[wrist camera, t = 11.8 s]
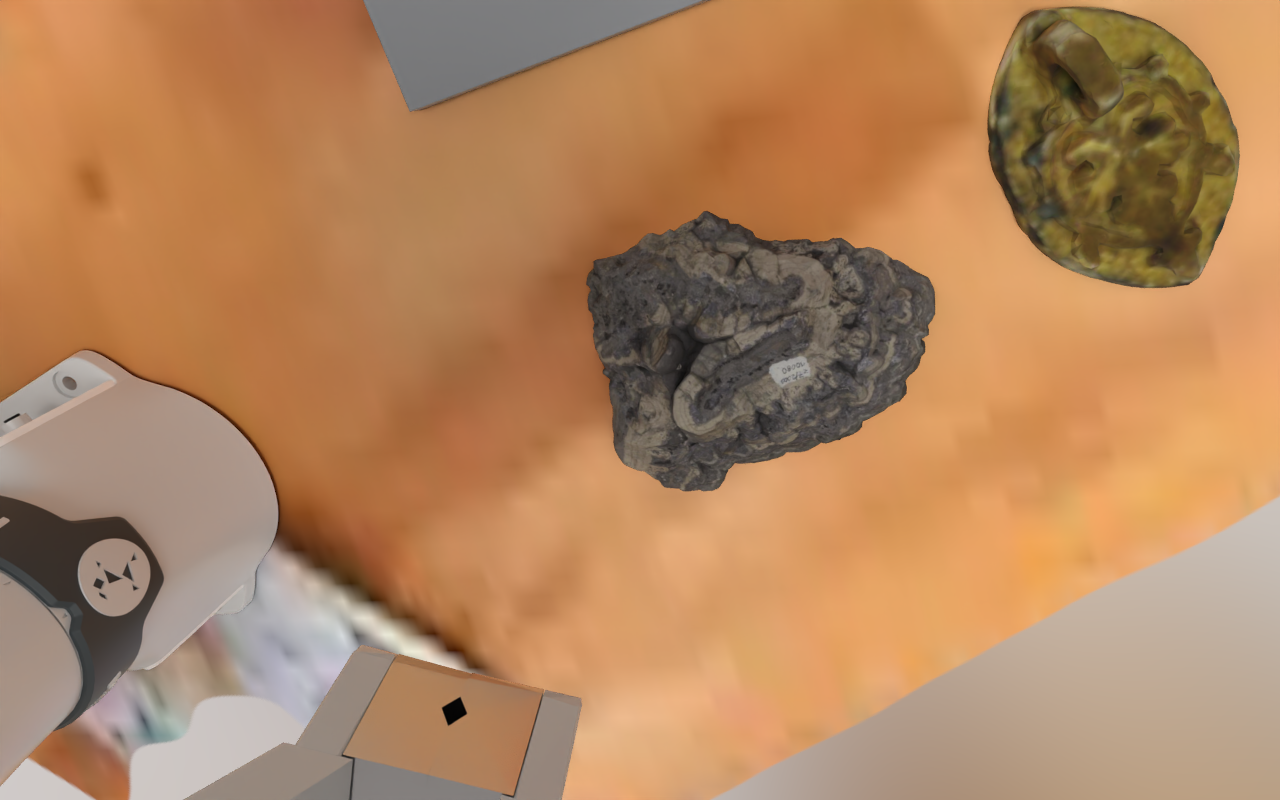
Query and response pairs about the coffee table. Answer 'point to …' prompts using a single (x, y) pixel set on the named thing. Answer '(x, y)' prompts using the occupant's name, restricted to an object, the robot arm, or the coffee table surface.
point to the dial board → (494, 37)
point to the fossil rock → (749, 345)
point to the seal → (1112, 146)
